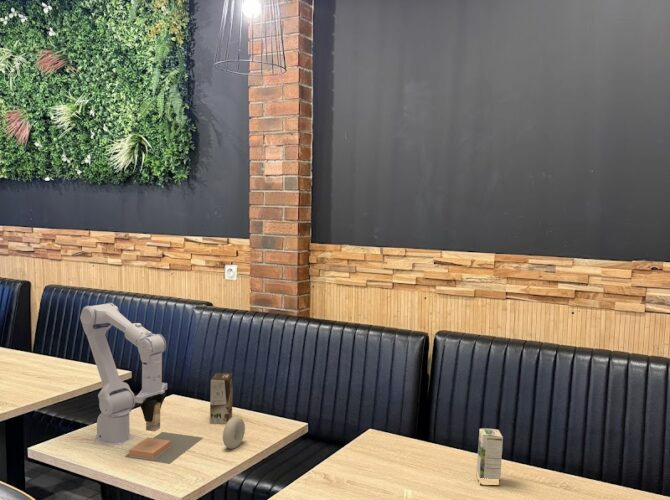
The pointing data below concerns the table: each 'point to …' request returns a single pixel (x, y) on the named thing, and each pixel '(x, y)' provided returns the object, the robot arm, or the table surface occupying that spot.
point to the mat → (173, 446)
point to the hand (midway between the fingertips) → (151, 419)
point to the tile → (149, 448)
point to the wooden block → (154, 419)
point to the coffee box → (221, 398)
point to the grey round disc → (233, 432)
